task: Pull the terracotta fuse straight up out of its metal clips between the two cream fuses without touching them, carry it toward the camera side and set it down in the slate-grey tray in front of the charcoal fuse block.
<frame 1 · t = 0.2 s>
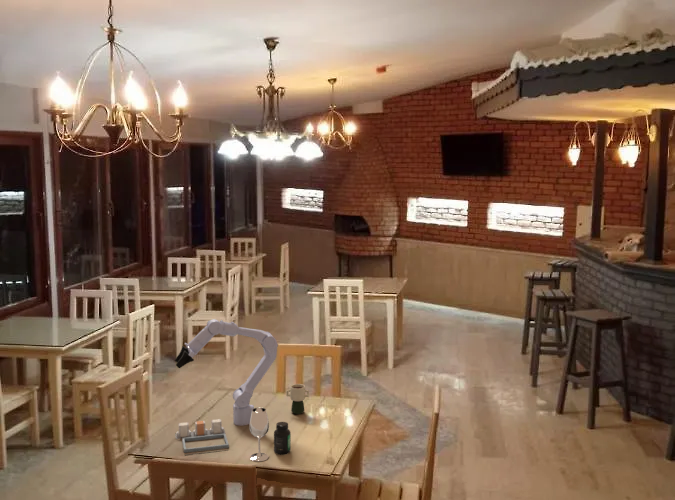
hand: (177, 364, 292), 31 cm above the table, tool tilted 45°, fingers open, 7 cm apart
fuse block: (200, 436, 292), on the table
fuse 2: (216, 431, 294), point 1 cm above the table, touching fuse block
supplement bottle: (282, 452, 277), on the table
fuse marked: (200, 433, 292), point 1 cm above the table, touching fuse block
tray: (205, 447, 281), on the table
character mug: (297, 413, 320), on the table
fuse 1: (183, 435, 290), point 1 cm above the table, touching fuse block
wineglass: (259, 458, 271), on the table
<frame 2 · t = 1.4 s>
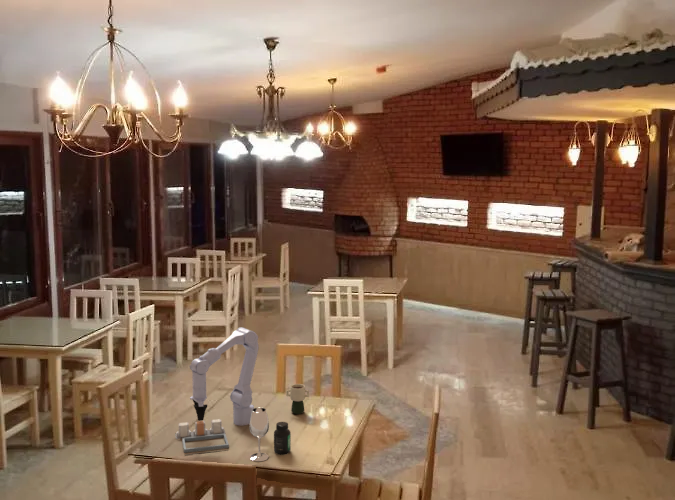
hand: (199, 417, 291), 9 cm above the table, tool pointing down, fingers open, 7 cm apart
nothing on the table moved.
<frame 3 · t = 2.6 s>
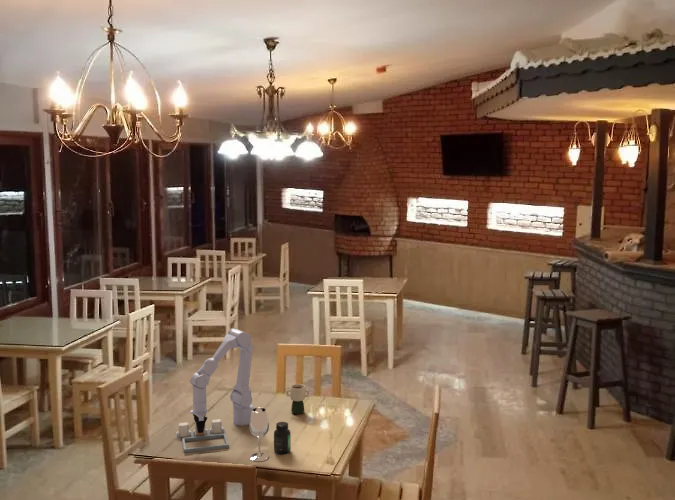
hand: (200, 430, 292), 2 cm above the table, tool pointing down, fingers closed on fuse marked, 3 cm apart
fuse marked: (200, 433, 292), point 1 cm above the table, touching fuse block, gripper
everything else where it was.
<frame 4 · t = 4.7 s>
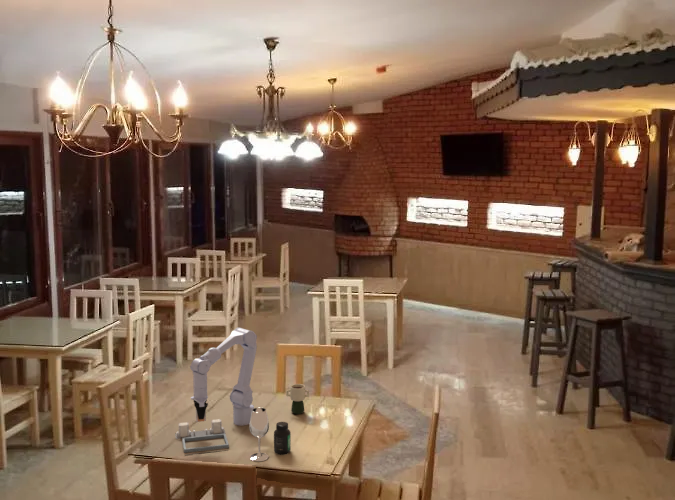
hand: (200, 417, 288), 9 cm above the table, tool pointing down, fingers closed on fuse marked, 3 cm apart
fuse marked: (200, 420, 288), point 8 cm above the table, touching gripper
everything else where it was.
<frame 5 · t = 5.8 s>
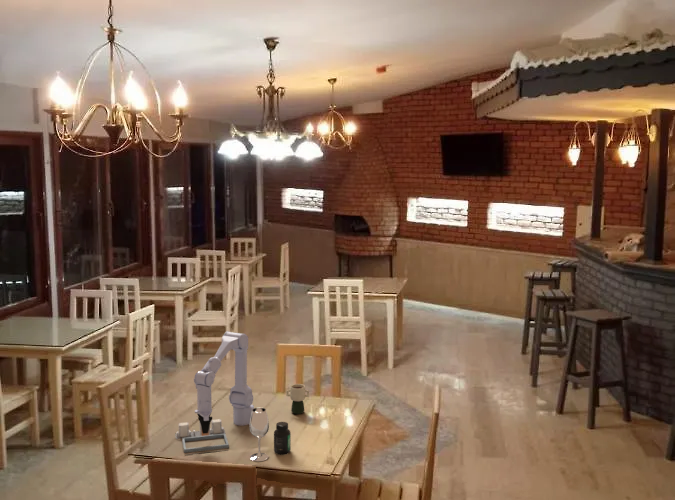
hand: (205, 431, 280), 7 cm above the table, tool pointing down, fingers closed on fuse marked, 3 cm apart
fuse marked: (204, 434, 280), point 6 cm above the table, touching gripper
everything else where it was.
when the fingers open (3 cm above the table, at t = 6.7 s): fuse marked drops 2 cm, resting on tray.
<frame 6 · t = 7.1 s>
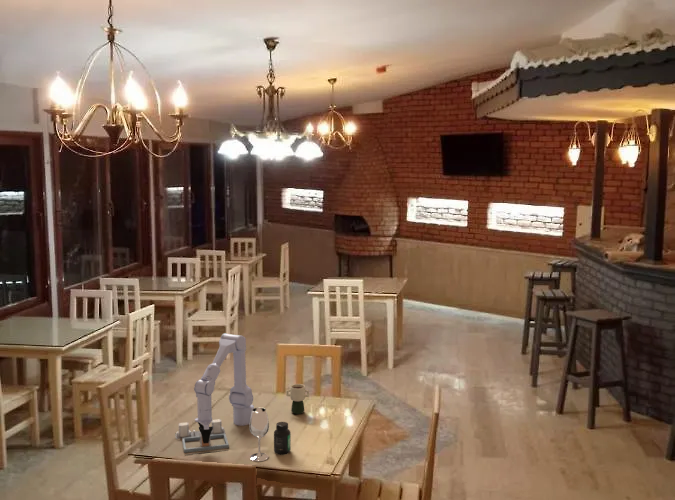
hand: (205, 439, 280), 3 cm above the table, tool pointing down, fingers open, 6 cm apart
fuse marked: (205, 445, 281), resting on tray
everything else where it was.
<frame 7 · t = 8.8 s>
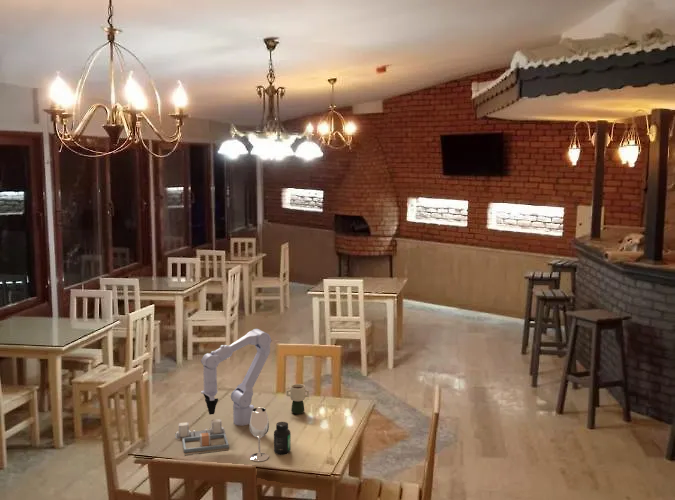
hand: (210, 411, 296), 9 cm above the table, tool pointing down, fingers open, 7 cm apart
nothing on the table moved.
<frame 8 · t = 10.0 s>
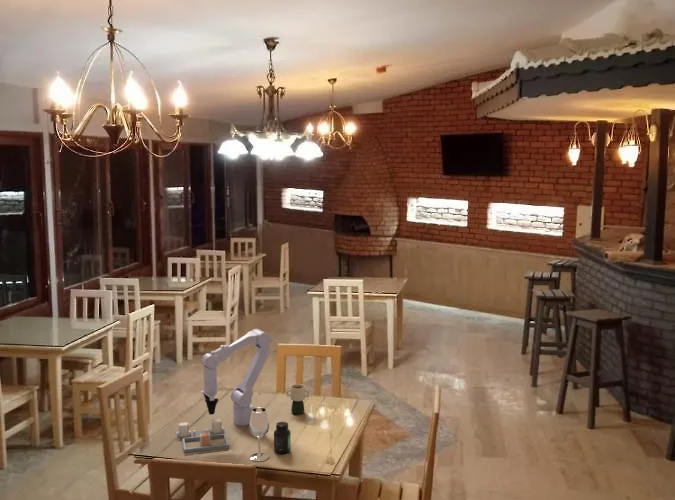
hand: (210, 410, 296), 9 cm above the table, tool pointing down, fingers open, 7 cm apart
nothing on the table moved.
at the end: fuse marked inside the target area on the tray (0.1 cm from its centre), point 0.5 cm above the tray's base; fuse 2 moved 0.0 cm from its start; fuse 1 moved 0.0 cm from its start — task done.
